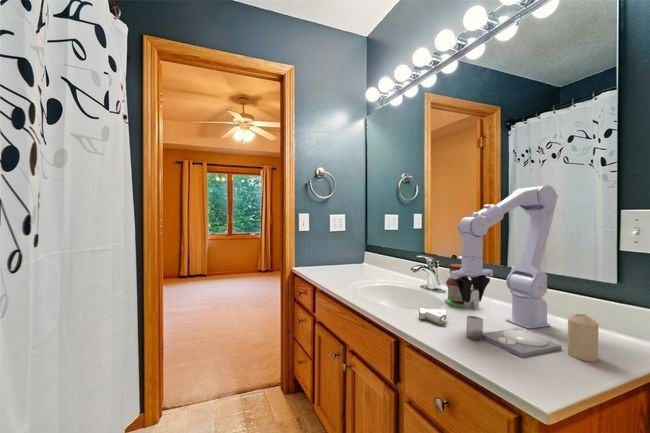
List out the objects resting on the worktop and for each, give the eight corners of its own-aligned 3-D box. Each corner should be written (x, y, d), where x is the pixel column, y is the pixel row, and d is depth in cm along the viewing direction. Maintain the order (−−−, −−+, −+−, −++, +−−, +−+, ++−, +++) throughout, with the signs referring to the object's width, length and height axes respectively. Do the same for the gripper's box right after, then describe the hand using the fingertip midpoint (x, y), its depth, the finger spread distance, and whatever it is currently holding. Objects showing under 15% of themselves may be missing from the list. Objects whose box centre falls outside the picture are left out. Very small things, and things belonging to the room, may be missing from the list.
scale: (516, 331, 84) (516, 326, 84) (561, 349, 73) (561, 344, 73) (480, 337, 80) (480, 332, 80) (521, 357, 68) (521, 351, 68)
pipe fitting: (448, 328, 87) (444, 319, 94) (448, 316, 87) (444, 307, 94) (421, 326, 89) (418, 317, 95) (421, 314, 89) (419, 306, 95)
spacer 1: (471, 304, 89) (471, 287, 89) (482, 308, 85) (482, 290, 85) (461, 305, 88) (461, 287, 88) (471, 309, 84) (471, 290, 84)
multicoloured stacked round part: (435, 299, 116) (435, 263, 116) (464, 299, 117) (464, 263, 118) (451, 309, 104) (451, 268, 104) (483, 308, 106) (483, 268, 106)
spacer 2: (474, 334, 81) (474, 315, 82) (486, 340, 78) (486, 320, 78) (463, 336, 80) (463, 316, 80) (474, 342, 76) (474, 321, 76)
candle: (601, 364, 65) (601, 321, 65) (570, 357, 68) (570, 316, 68) (594, 354, 70) (595, 314, 70) (565, 349, 73) (566, 310, 73)
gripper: (479, 253, 92) (479, 295, 92) (443, 255, 88) (442, 299, 88) (499, 256, 86) (498, 301, 86) (460, 258, 81) (460, 306, 81)
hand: (471, 300), depth 86 cm, fingers closed on spacer 1, 4 cm apart
